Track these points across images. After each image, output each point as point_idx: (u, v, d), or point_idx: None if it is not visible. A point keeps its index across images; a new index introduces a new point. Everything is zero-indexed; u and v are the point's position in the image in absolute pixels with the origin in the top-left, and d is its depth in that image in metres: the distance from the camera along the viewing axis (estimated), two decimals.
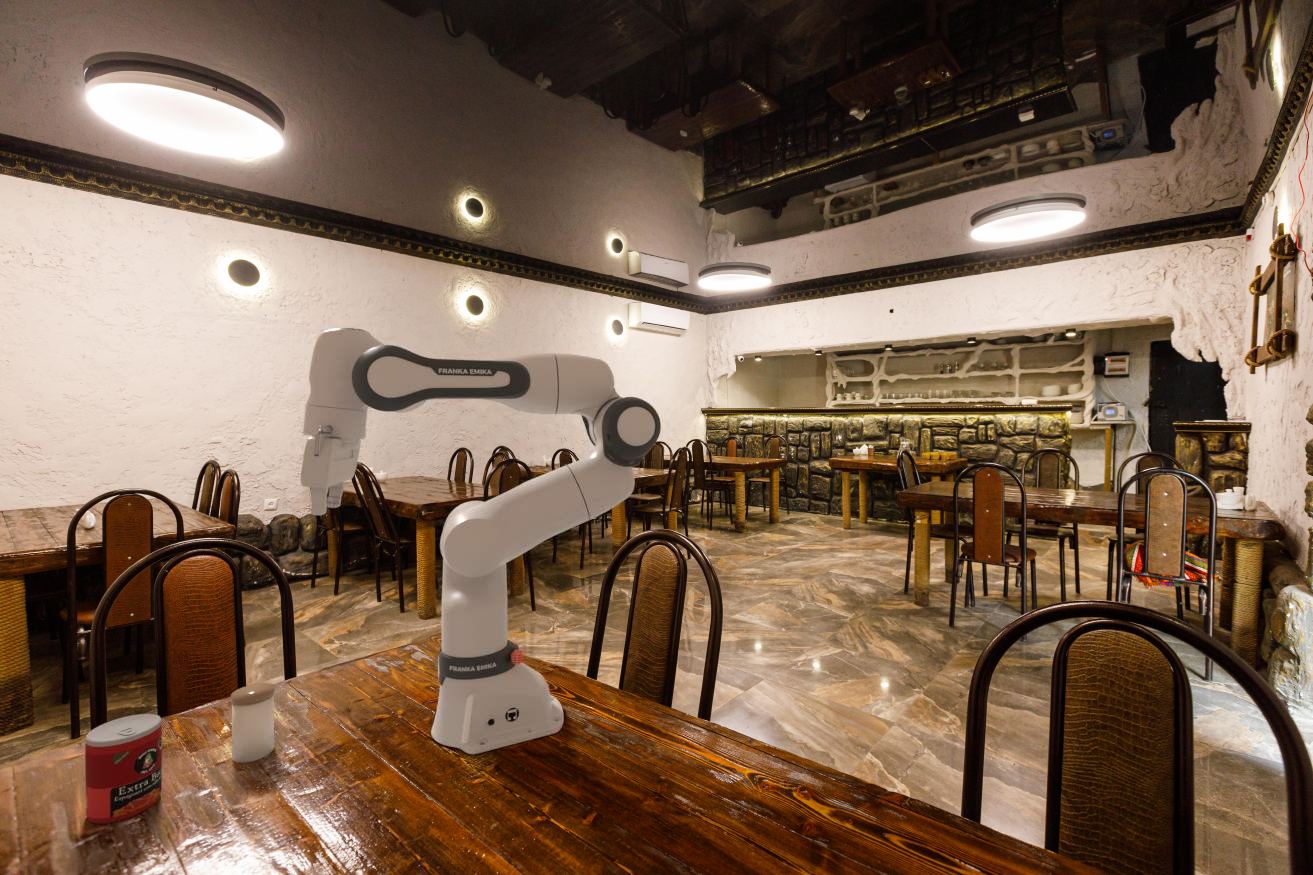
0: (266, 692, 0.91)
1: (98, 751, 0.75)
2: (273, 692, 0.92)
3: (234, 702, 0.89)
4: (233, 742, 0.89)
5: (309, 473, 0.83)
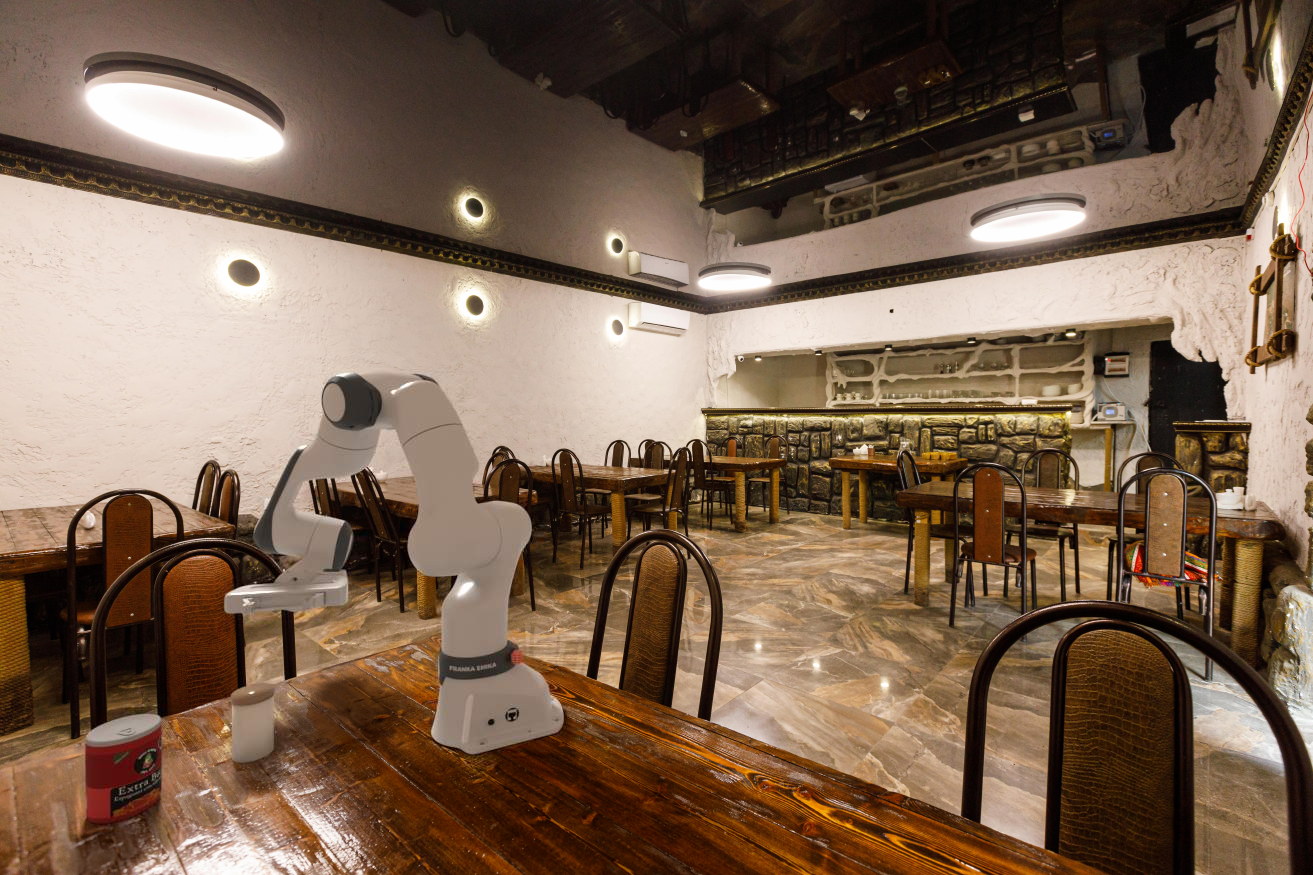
0: (266, 692, 0.91)
1: (98, 752, 0.75)
2: (273, 692, 0.92)
3: (234, 702, 0.89)
4: (233, 742, 0.89)
5: None
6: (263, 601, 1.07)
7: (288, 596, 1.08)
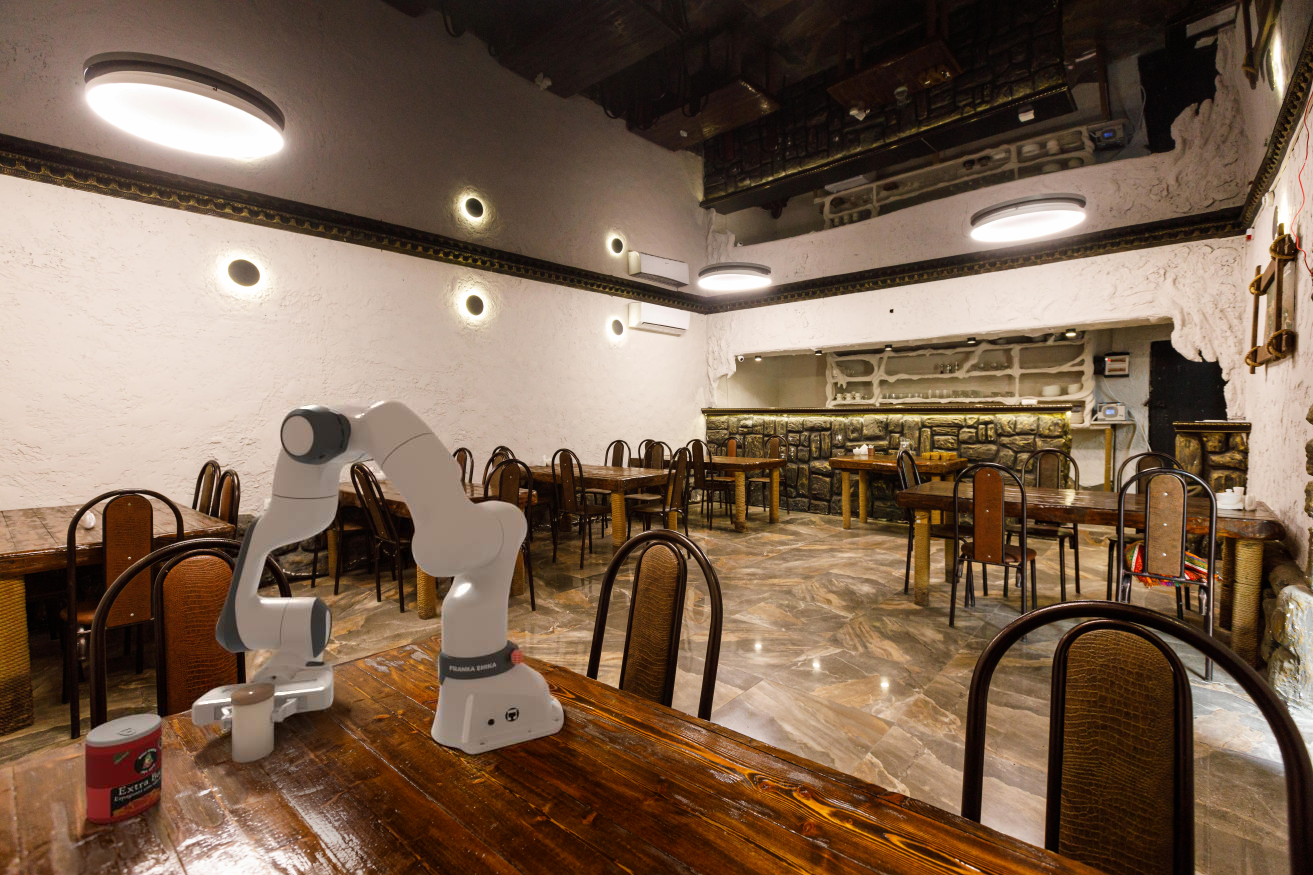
0: (266, 692, 0.91)
1: (98, 751, 0.75)
2: (273, 692, 0.92)
3: (234, 702, 0.89)
4: (233, 742, 0.89)
5: None
6: None
7: None
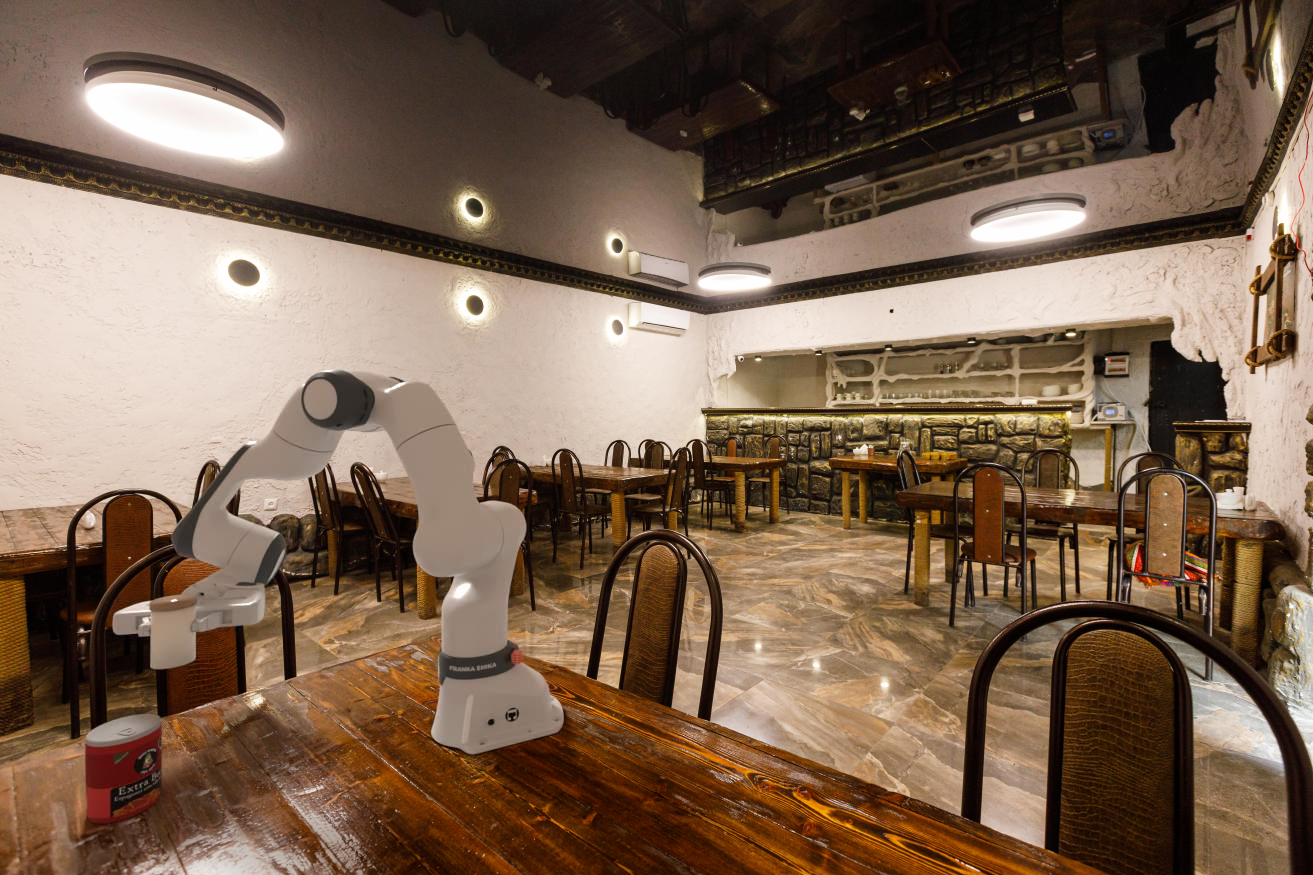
0: (186, 600, 0.90)
1: (98, 752, 0.75)
2: (194, 602, 0.91)
3: (152, 608, 0.88)
4: (151, 649, 0.88)
5: None
6: None
7: None
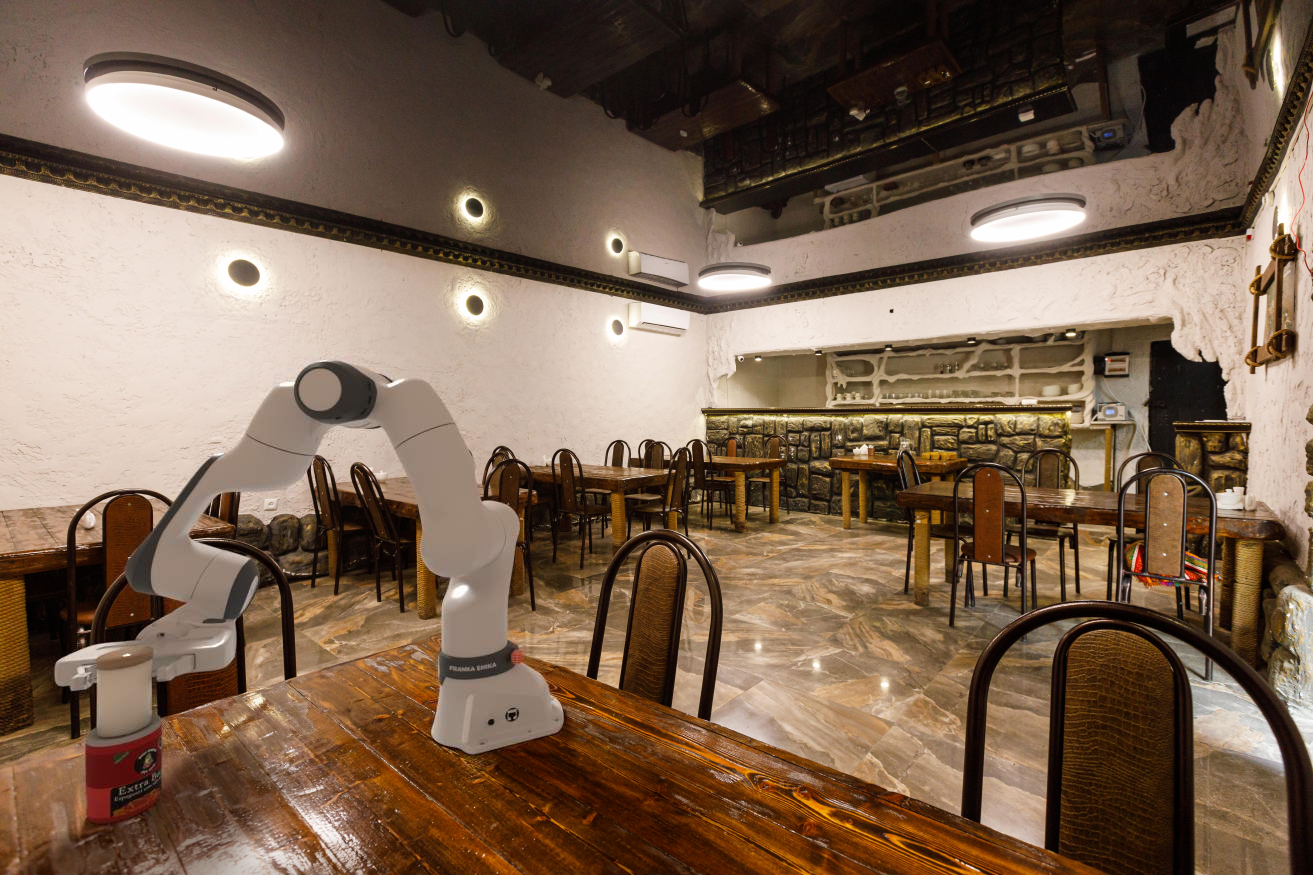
0: (139, 655, 0.78)
1: (98, 751, 0.75)
2: (149, 656, 0.79)
3: (98, 666, 0.76)
4: (97, 713, 0.76)
5: None
6: None
7: None
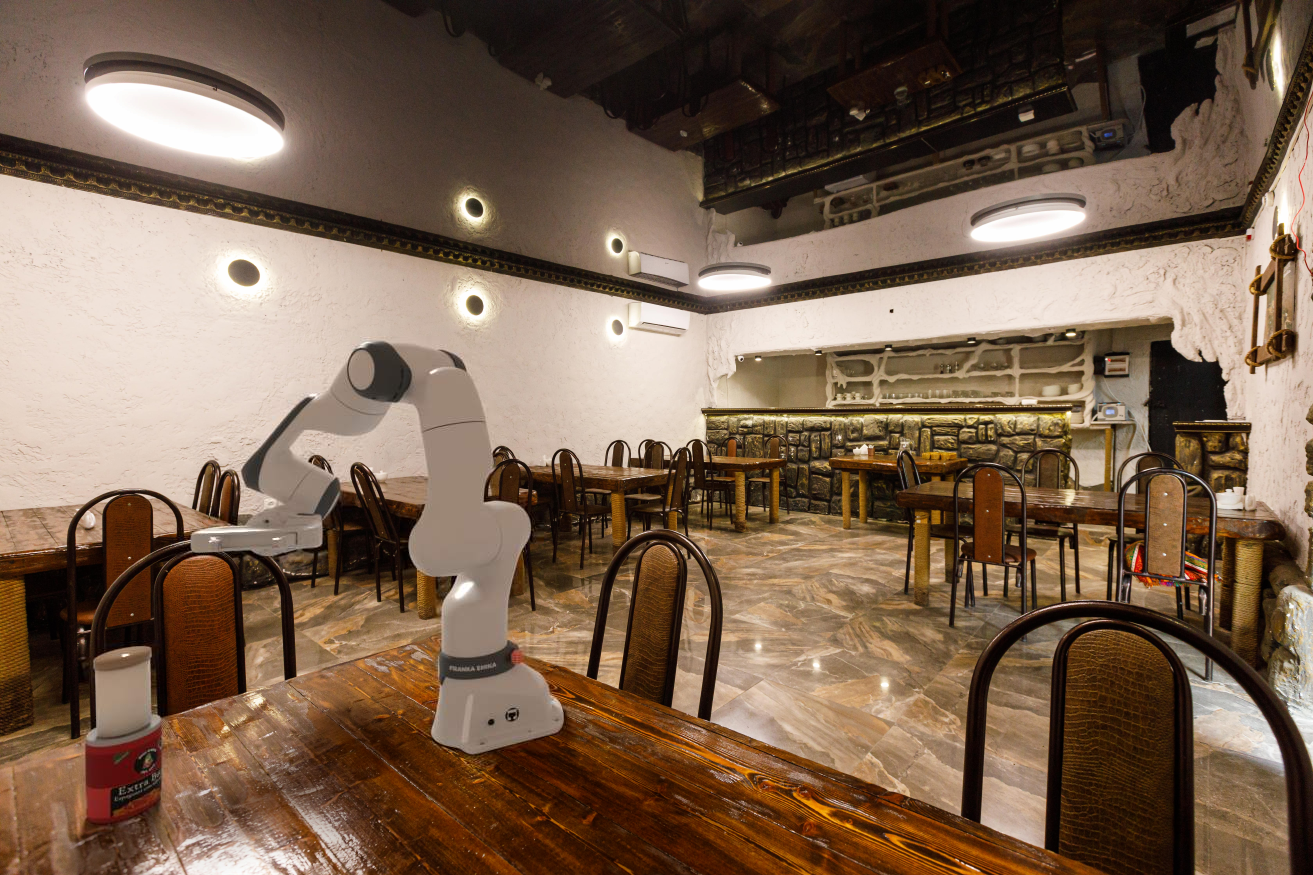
0: (137, 656, 0.78)
1: (98, 752, 0.75)
2: (147, 656, 0.79)
3: (96, 667, 0.75)
4: (97, 713, 0.76)
5: None
6: (231, 541, 1.03)
7: (258, 536, 1.04)
